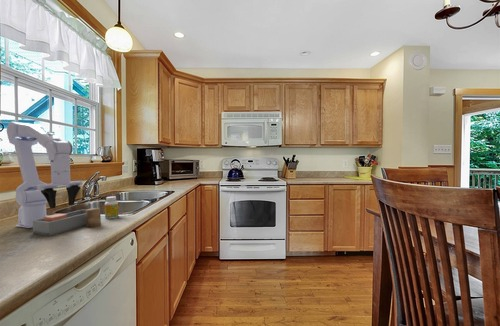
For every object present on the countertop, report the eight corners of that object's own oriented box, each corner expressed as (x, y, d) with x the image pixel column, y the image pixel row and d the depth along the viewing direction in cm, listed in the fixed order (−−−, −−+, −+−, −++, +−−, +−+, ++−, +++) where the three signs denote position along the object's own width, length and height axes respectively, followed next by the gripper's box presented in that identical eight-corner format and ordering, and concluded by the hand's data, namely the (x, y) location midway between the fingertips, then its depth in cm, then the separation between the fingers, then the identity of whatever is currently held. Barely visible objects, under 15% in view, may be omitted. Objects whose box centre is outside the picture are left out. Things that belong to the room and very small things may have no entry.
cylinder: (83, 227, 91) (83, 210, 91) (95, 223, 96) (94, 207, 96) (92, 228, 90) (91, 210, 89) (103, 224, 94) (102, 208, 94)
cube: (44, 229, 85) (43, 216, 85) (59, 225, 90) (58, 213, 90) (53, 230, 84) (52, 217, 84) (67, 226, 89) (67, 214, 88)
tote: (33, 233, 84) (32, 220, 84) (83, 220, 101) (82, 209, 101) (49, 236, 81) (48, 222, 81) (97, 221, 98) (97, 210, 98)
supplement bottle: (112, 219, 102) (111, 198, 102) (102, 218, 103) (101, 198, 103) (121, 216, 108) (120, 196, 107) (111, 215, 109) (110, 195, 108)
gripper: (45, 173, 79) (47, 211, 80) (86, 170, 93) (88, 202, 93) (32, 173, 82) (34, 209, 82) (75, 170, 95) (76, 201, 96)
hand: (62, 206), depth 88 cm, fingers open, 6 cm apart
